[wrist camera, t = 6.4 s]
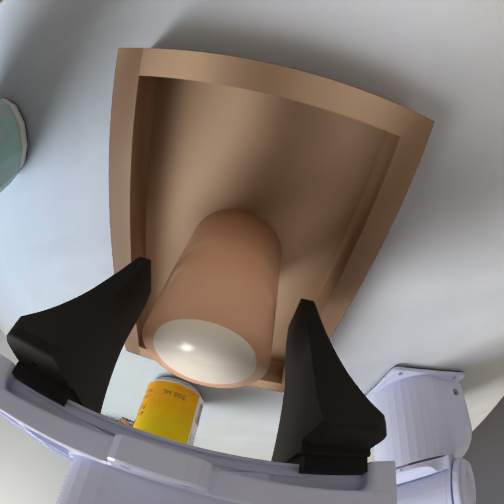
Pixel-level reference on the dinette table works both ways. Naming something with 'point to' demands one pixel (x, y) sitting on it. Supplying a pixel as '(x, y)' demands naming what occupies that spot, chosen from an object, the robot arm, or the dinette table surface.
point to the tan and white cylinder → (219, 303)
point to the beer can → (170, 410)
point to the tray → (256, 173)
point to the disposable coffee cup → (11, 142)
